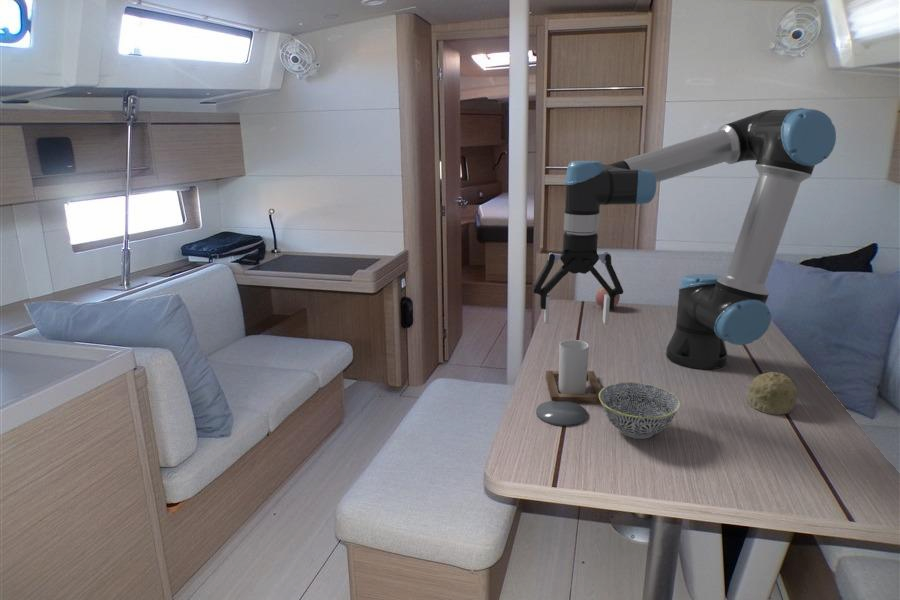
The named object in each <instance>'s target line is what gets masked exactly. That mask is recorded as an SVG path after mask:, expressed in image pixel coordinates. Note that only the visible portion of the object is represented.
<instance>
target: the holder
mask: <svg viewBox="0 0 900 600" xmlns="http://www.w3.org/2000/svg"><path fill="white" fill-rule="evenodd" d="M544 376H545V377H544V378H545V379H546V385H547V389H548V393H549V395H550V401H555V400H561V401H569V402H573V403H576V404H602V403H601V402H600V400H599V392H600V391H601V390H602V389H603V388H602V387H601V385H600V383H599V382H600V381H598V378H597V375H596V373H595V371H594V370H587V379H586V380H587V381H588V384H589V386H590V388H591V391H592V393H585V394H561V393H560V392H559V388H558V387H557V382H556V380H559V370H545V375H544Z"/></svg>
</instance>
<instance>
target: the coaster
mask: <svg viewBox="0 0 900 600" xmlns="http://www.w3.org/2000/svg"><path fill="white" fill-rule="evenodd" d="M535 411H536V412H535V414H536V417H537V418H538V419H539V420H540V421H542V422H544V423H547V424H549V425H553V426H558V427H559V426H561V427H573V426H577V425H579V424H580V425H581V424H582V423H584V422H585V421H586V420H587V418H588V412H587V410H586V408H585V407H583V406H582V405H581V404H579V403H573V402H569V401H561V400H555V401H551V400H549V401H544V402H542V403H540V404H538V406H537V408H536V409H535Z"/></svg>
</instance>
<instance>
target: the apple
mask: <svg viewBox="0 0 900 600" xmlns="http://www.w3.org/2000/svg"><path fill="white" fill-rule="evenodd" d="M609 286H610V287H611V289H614V288H615V287H614V286H612V285H609ZM604 294H608V292H607V291H606V290H605V289H604V288H603V286H601V287H599V288H598V289H597V291H596V294H595V302H596V304H597V305H598V306H599V307H600V308H602V309H603V308H604ZM620 295H621V294H618V295H616V297H615V298H614V308H615V307H617V305H618V304H619V302H620Z"/></svg>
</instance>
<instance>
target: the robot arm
mask: <svg viewBox="0 0 900 600" xmlns="http://www.w3.org/2000/svg"><path fill="white" fill-rule="evenodd" d="M836 140H837V130H836V127H835V124H834V123H833V122H832V119H831V117H829V116H828V114H826V113H824V111H821V110H819V109H813V108H812V109H811V108H803V107H800V108H793V109H792V108H791V109H770V110H764V111H760V112H758V113H755V114H752V115H749V116H746V117H744V118H740V119H738V120H734V121H732V122H729V123H725V124H723V125H721V126H720V127H718V130H717V131H713V132H711V133H709V134H705V135H701V136H698V137H694V138H692V139H687V140H685V141H681V142H677V143H674V144H672V145H668V146H665V147H661V148H658V149H654V150H652V151H649V152H645V153H642V154H639V155H635V156H633V157H629V158H628V157H627V158H626V159H623V160H619V161H616V162H612V163H609V164H603V163H602V162H601V161H600V160H599V161H598V160H573V161H570V162H569V163H568V165H567V169H566V175H565V183H564V184H565V193H564V195H565V198H564V199H565V200H564V204H565V206H564V220H563V221H564V222H563V230H564V231H565V232H564V233H563V234H562V235H563V238H562V239H563V240H562V252H561V253H560V254H559V253H554V252H552V251H550V252H548V255H547V261H546V262H545V265H544V267H543V268H542V270H541V272H540V274H539V276H538V278H537V279H536V281H535V283H534V285H533V286H532V291H533V293H534V294H537V295H540V296H539V297H540V298H539V302H540V303H539V306H540V307H539V308H541V310H544V311H543V312H544V313H543V314H544V316H543V319H544V320H543V321H544V324H546V325H549V320H550V300H551V299H550V294H549V293H550V292H551V291H552V290H553V288H555V287H556V285H558V283H559V282H560V281H561V280H562V279H563V278H564V277H565V276H567V274H568V273H569V272H570V273H572V274H574V275H575V274H583V275H584V274H588V273H589V272H590V273H591V274H592V275H593V276H594V278H595V279H596V281H598V283H599V284H600V285H601V287H603V288H604V289H605V290H606V291H607V292H608V294H604V308H602V309H603V310H602V322H603V323H604V325H609V320H610V319H609V317H610V310H611V311H612V310H614V308H615V307H614V298H615V297H616V295H618V294H619V295H622V294H624V289H623V287H622V285H621V282H620V280H619V278H618V276H617V273H616V271H615V269H614V268H613V265H612V255H611V254H610V253H609V252H607V251H606V252H604V253H602V254H599V253H598V240H599V236H598V235H599V234H598V233H597V232H598V231H599V225H600V224H599V222H600V209H601V208H600V207H601V206H602V205H603V206H607V205H635V206H638V205H644V204H649V203H651V202H652V201H653V199H654V197H655V195H656V191H657V184H658V183H660V182H663V181H666V180H670V179H673V178H675V177H679V176H683V175H686V174H689V173H692V172H695V171H698V170H699V171H700V170H702V169H706V168H709V167H713V166H715V165H718V164H721V163H722V164H723V163H726V164H728V165H732V164H734V165H735V164H736V163H739V162H740V163H741V162H746V161H756V162H755V164H754V167H755V169H756V170H757V172H758V178H757V181H756V183H755V187H754V190H753V193H752V196H751V199H750V203H749V204H748V208H747V211H746V213H745V216H744V220H743V223H742V226H741V229H740V232H739V235H738V238H737V241H736V244H735V247H734V249H733V253H732V255H731V258H730V261H729V265H728V267H727V271H726V273H725V274H724V275H721V274H713V273H712V274H706V273H705V274H704V273H703V274H702V273H701V274H697V273H696V274H688V275H684V276H683V277H682V278H681V279H680V282H679V287H678V298H677V299H678V301H677V311H676V323H675V329H674V332H673V334H672V336H671V338H670V340H669V342H668V344H667V347H666V353H665V355H666V358H667V359H668V360H669V361H671V362H672V363H675V364H676V365H679V366H683V367H687V368H692V369H700V370H701V369H702V370H713V369H719V368H722V367H724V366H726V365H727V362H728V350H727V346H726V343H725V342H727V343H730V344H731V345H736V346H746V345H749V344H752V343H754V341H757V340H759V339H761V337H763V336H764V335H765V334H766V332H767V331H768V329H769V327H770V325H771V321H772V313H771V312H770V308H769V307H768V305H767V304H766V303H767V301H768V298H769V296H770V291H769V290H768V289H767V287H766V282H767V279H768V277H769V273H770V271H771V268H772V265H773V262H774V260H775V257H776V253H777V251H778V248H779V245H780V243H781V240H782V236H783V234H784V231H785V228H786V225H787V223H788V220H789V216H790V214H791V211H792V208H793V205H794V202H795V199H796V197H797V194H798V191H799V188H800V186H801V183H802V182H804V181H805V180H807V179H808V178H810V177H812V174H813V171H814V170H815V166H816V165H818V164H821V163H822V162H824V160H826V159H828V158H829V157H830V155H831V154H832V153H833V150H834V148H835V145H836ZM559 260H560V261H561V262H562V266H560V268H559V269H558V270H557V271H556V273H555V274H554V275H553V276H552V277H551V278H550V279H549V280H548V281H547V282H546V279H547V278H548V276H549V274H550V272H551V271H552V269H553V267H554V265H555V264H557V263H558V261H559ZM599 260H600V262H601V263H602V264H604V266H605V268H606V271H607V273H608V275H609V277H610V280H611V281H612V282H611V283H612V284H613V287H614V289H611V287H610V286H611V285H609V284H608V283H607V281H606V280H605V279H604V277H603V276H602V275H601V274H600V272H599V271H598V270H597V269H596V267H594V266H595V265H596V264H597V262H598V261H599ZM545 282H546V283H545ZM544 283H545V284H544ZM543 285H544V286H543Z"/></svg>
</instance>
